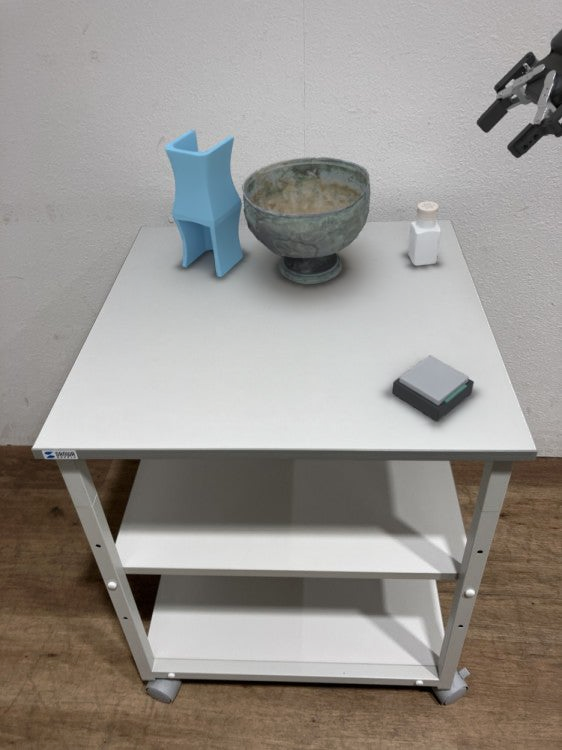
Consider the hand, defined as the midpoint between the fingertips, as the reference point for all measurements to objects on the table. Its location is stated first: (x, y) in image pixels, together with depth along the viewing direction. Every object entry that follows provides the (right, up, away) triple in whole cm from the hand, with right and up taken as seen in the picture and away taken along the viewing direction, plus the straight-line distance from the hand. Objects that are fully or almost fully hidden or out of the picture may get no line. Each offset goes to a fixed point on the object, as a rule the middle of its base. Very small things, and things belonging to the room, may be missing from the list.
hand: (495, 140), depth 80 cm
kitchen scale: (-9, -32, -1) cm, 34 cm away
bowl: (-23, -13, +22) cm, 34 cm away
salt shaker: (-5, -11, +22) cm, 25 cm away
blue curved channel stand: (-39, -11, +25) cm, 47 cm away
